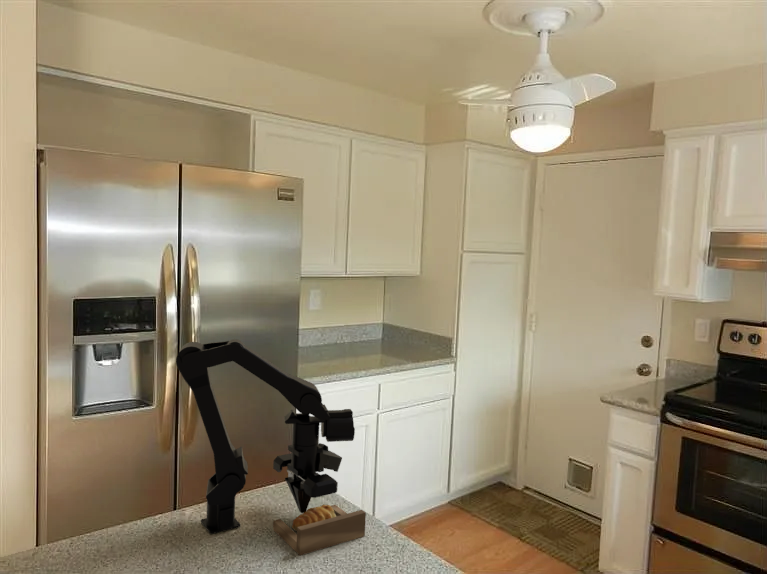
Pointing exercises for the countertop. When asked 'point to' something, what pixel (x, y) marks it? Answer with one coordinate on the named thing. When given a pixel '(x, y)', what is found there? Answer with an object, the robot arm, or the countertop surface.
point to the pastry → (313, 516)
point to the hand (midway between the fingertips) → (302, 512)
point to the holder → (323, 531)
